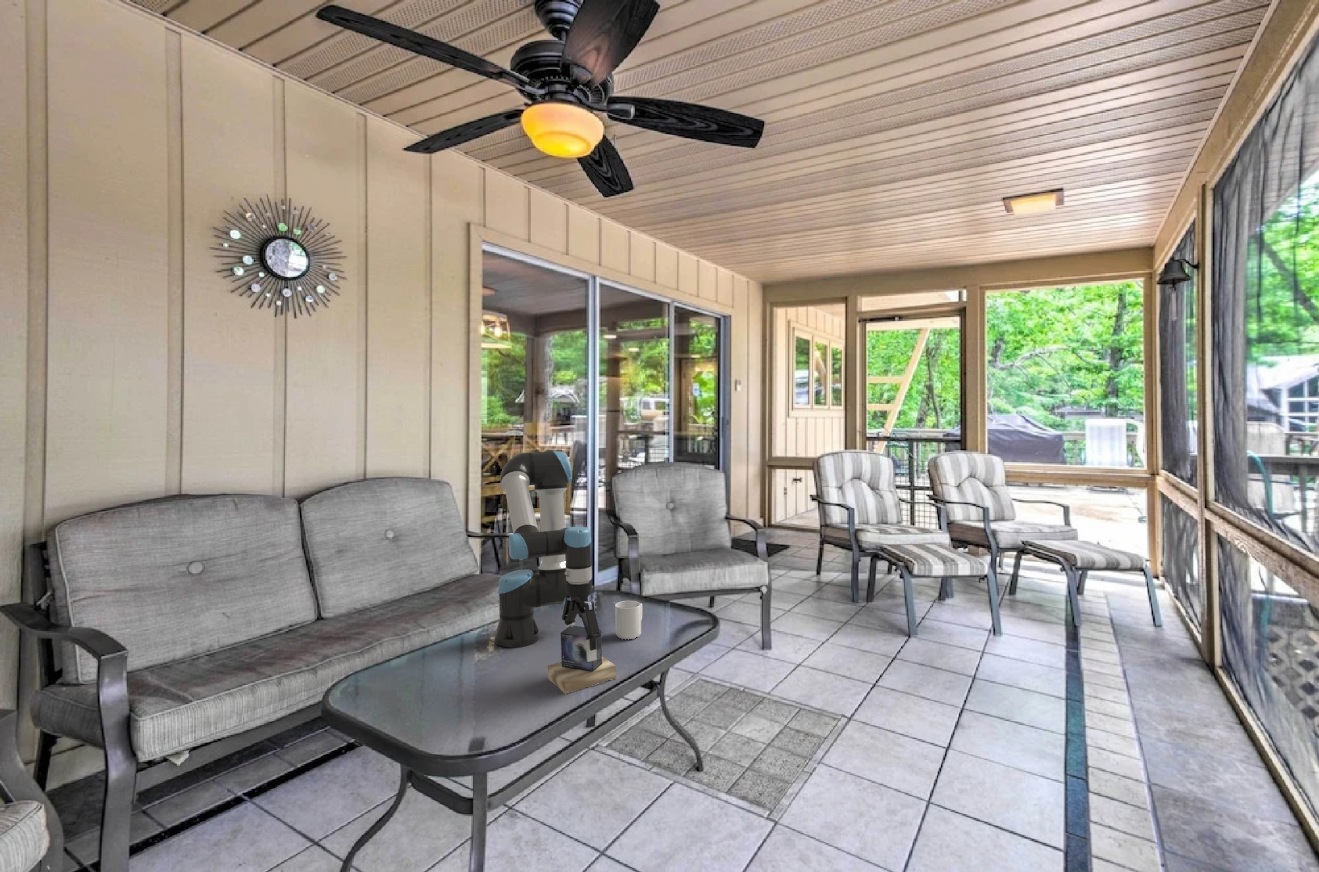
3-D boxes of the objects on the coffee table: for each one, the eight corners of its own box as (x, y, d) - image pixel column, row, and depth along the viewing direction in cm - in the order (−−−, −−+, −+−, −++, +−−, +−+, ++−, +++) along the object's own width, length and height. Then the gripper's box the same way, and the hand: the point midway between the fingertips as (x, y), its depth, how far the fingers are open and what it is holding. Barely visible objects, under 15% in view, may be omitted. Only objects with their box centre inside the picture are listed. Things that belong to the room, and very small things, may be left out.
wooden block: (548, 679, 177) (547, 665, 177) (596, 665, 186) (596, 652, 186) (565, 694, 167) (565, 679, 167) (615, 679, 176) (615, 665, 176)
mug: (630, 642, 204) (629, 610, 204) (610, 637, 209) (609, 605, 209) (651, 631, 214) (650, 600, 213) (631, 627, 219) (631, 596, 218)
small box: (560, 667, 175) (559, 632, 175) (571, 659, 181) (570, 624, 181) (592, 672, 171) (591, 636, 171) (603, 663, 177) (602, 628, 177)
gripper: (549, 574, 184) (551, 643, 185) (586, 593, 163) (589, 670, 164) (572, 570, 188) (574, 637, 189) (611, 588, 167) (613, 663, 168)
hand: (581, 653), depth 176 cm, fingers open, 13 cm apart
